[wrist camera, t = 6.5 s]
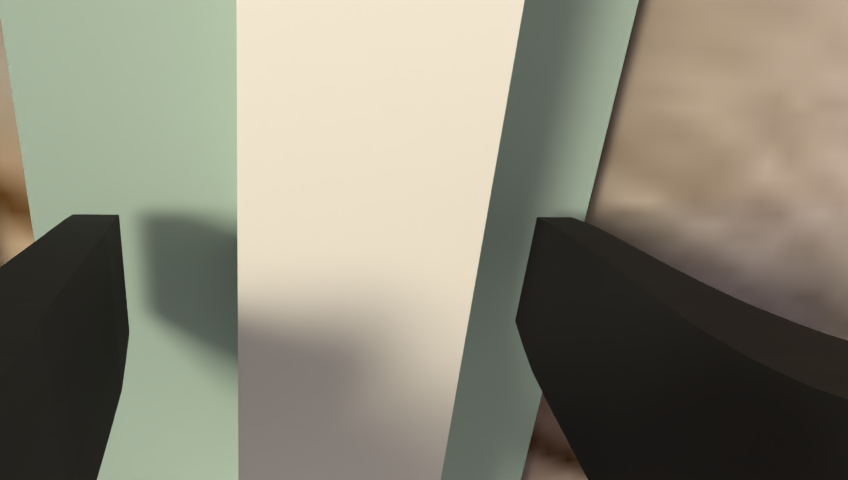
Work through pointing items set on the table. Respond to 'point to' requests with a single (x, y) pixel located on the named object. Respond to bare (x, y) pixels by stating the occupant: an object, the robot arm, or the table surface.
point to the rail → (361, 225)
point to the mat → (217, 207)
